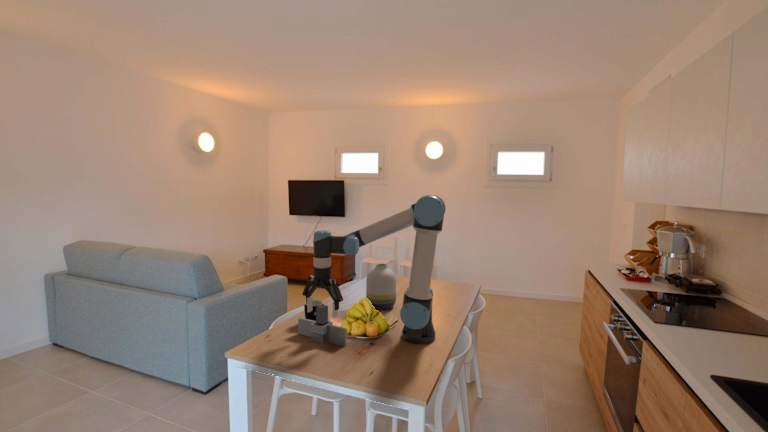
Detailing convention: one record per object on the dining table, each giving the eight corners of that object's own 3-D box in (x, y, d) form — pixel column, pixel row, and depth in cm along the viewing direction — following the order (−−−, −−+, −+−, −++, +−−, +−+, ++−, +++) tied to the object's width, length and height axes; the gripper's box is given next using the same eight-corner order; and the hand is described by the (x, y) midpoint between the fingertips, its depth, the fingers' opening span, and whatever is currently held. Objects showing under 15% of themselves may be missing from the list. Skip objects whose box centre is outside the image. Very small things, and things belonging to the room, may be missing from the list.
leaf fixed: (349, 343, 155) (349, 326, 154) (341, 348, 149) (341, 331, 148) (320, 335, 162) (320, 319, 161) (311, 340, 156) (311, 324, 156)
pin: (327, 339, 158) (327, 305, 157) (322, 342, 155) (322, 308, 154) (321, 337, 160) (321, 304, 159) (316, 340, 157) (316, 306, 156)
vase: (390, 313, 192) (391, 269, 190) (361, 309, 197) (362, 266, 195) (399, 303, 208) (400, 263, 206) (372, 300, 213) (373, 260, 211)
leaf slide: (332, 337, 159) (332, 322, 159) (322, 343, 153) (322, 327, 152) (304, 330, 166) (304, 315, 166) (294, 335, 160) (294, 320, 160)
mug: (312, 328, 170) (312, 307, 169) (300, 323, 176) (300, 303, 175) (331, 320, 180) (331, 301, 179) (319, 316, 185) (319, 297, 184)
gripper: (351, 268, 153) (351, 316, 154) (305, 261, 164) (305, 306, 166) (341, 271, 146) (341, 322, 148) (294, 264, 157) (294, 311, 159)
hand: (322, 314), depth 157 cm, fingers open, 13 cm apart
